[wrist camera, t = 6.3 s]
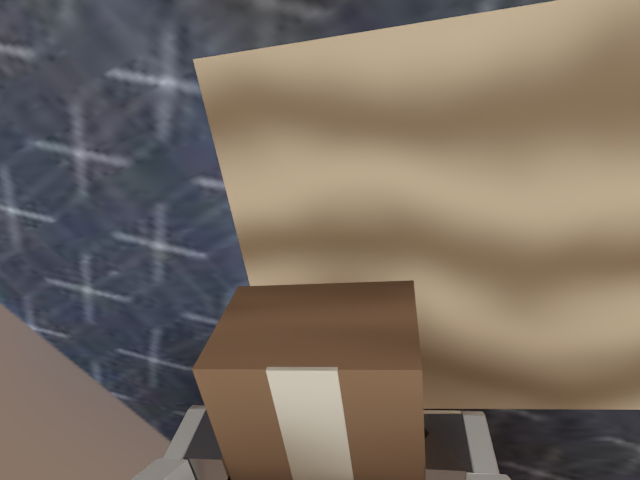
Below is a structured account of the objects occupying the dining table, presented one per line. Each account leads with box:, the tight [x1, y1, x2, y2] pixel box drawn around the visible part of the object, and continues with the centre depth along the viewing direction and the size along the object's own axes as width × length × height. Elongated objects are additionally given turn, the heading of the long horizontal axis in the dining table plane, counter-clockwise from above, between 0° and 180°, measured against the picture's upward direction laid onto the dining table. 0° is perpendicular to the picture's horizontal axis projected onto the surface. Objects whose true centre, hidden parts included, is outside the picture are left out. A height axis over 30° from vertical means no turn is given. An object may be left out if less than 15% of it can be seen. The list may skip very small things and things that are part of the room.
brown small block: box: [192, 280, 425, 480], centre depth 11 cm, size 7×4×3 cm, turn 7°
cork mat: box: [193, 0, 640, 410], centre depth 20 cm, size 20×24×1 cm
